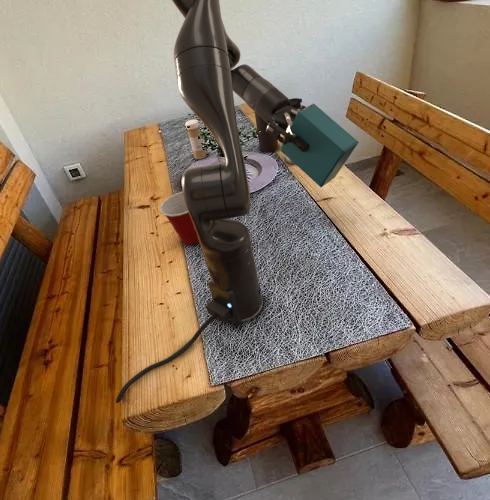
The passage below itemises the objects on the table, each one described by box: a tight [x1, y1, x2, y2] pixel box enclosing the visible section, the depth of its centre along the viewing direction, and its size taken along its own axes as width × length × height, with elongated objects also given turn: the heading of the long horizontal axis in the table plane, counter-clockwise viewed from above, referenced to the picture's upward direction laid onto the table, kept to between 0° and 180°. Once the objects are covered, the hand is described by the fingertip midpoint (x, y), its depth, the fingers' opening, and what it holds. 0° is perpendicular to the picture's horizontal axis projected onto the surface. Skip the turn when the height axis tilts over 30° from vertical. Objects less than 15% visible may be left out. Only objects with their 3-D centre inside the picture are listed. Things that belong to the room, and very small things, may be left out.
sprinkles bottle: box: [184, 119, 207, 160], centre depth 139 cm, size 5×5×13 cm
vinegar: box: [254, 112, 279, 153], centre depth 135 cm, size 7×7×20 cm
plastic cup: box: [159, 191, 200, 246], centre depth 101 cm, size 11×11×12 cm
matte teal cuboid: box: [279, 103, 359, 188], centre depth 91 cm, size 6×14×12 cm, turn 49°
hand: (315, 144), depth 91 cm, fingers closed on matte teal cuboid, 6 cm apart
